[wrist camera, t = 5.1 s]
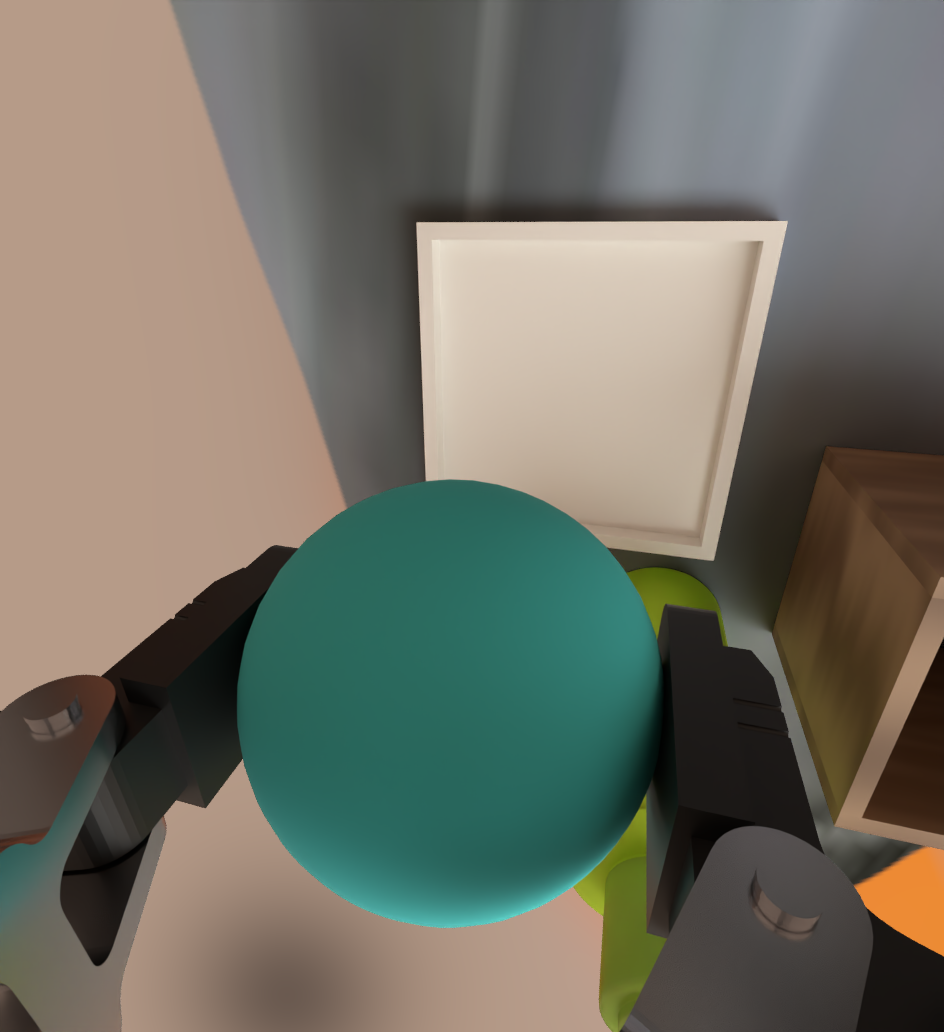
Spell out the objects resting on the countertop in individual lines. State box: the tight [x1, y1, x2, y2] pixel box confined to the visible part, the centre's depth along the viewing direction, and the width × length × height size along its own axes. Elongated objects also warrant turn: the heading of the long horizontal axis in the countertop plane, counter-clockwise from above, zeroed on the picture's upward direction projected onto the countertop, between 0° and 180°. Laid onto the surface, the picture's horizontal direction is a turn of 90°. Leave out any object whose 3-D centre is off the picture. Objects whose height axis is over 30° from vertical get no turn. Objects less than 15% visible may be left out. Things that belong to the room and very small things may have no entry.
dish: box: [416, 221, 788, 561], centre depth 24 cm, size 13×13×1 cm
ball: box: [237, 479, 664, 928], centre depth 9 cm, size 6×6×6 cm
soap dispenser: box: [573, 568, 728, 1032], centre depth 19 cm, size 6×7×20 cm
